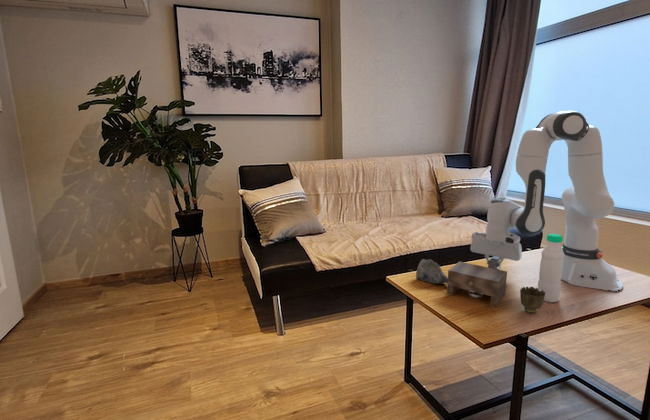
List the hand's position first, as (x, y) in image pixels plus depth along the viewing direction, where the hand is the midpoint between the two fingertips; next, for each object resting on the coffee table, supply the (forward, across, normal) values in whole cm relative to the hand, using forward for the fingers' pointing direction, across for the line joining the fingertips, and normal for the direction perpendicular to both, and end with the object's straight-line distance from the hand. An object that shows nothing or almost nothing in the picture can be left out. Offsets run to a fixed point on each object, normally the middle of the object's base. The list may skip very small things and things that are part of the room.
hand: (493, 265), depth 152 cm
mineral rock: (+5, -18, -24) cm, 30 cm away
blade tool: (+2, 0, -7) cm, 7 cm away
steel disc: (+5, +1, -25) cm, 26 cm away
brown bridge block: (+4, +1, -25) cm, 26 cm away
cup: (+4, +20, -27) cm, 34 cm away
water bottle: (+4, +23, -12) cm, 26 cm away
